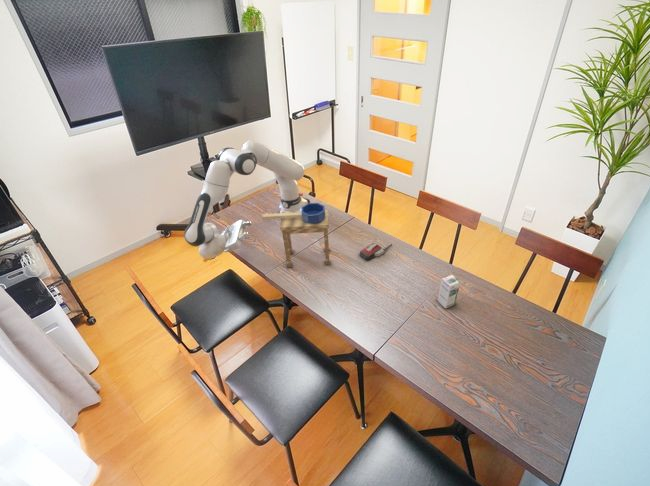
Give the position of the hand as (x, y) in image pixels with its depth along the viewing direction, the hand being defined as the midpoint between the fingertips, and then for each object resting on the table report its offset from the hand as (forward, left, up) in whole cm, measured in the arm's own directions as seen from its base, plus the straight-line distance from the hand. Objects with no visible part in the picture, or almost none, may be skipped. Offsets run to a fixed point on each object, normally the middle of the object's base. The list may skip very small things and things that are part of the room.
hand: (249, 227), depth 162 cm
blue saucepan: (-11, +20, +4) cm, 23 cm away
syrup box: (-13, +98, -22) cm, 101 cm away
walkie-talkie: (-34, +55, -22) cm, 68 cm away
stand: (-14, +24, -22) cm, 35 cm away
